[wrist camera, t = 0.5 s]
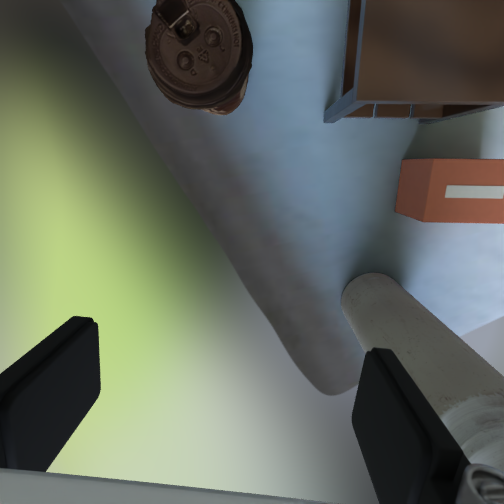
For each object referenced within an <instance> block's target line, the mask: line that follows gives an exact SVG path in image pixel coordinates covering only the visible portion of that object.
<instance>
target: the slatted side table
mask: <svg viewBox="0 0 504 504" xmlns="http://www.w3.org/2000/svg"><path fill="white" fill-rule="evenodd" d="M374 104H376V107H375V116H374V118H401V119H405V118H408V117H409V114H410V106H411V104H412V108H411V115H410V119H419V124H430V123H435V122H439V121H443V120H447V119H451V118H456V117H460V116H464V115H468V114H472V113H476V112H481V111H485V110H489V109H493V108H497V107H502V106H504V0H348V12H347V24H346V36H345V48H344V60H343V72H342V84H341V96H340V99H339V100H338V101H337V102H335V103H334V104H333V105H332V106H331V107H329V108H328V109H327V110H326V111H325V112H324V123H334V122H336V121H338V120H339V119H341V118H371V117H373V108H374Z"/></svg>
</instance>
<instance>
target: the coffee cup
mask: <svg viewBox="0 0 504 504" xmlns="http://www.w3.org/2000/svg"><path fill="white" fill-rule="evenodd" d="M152 12H153V13H152V19H151V24H150V25H149V26H148V27H147V28H146V29H145V38H146V42H145V43H146V51H145V54H146V59H147V64H148V68H149V71H150V73H151V76H152V78H153V80H154V81H155V83H156V85H157V87H158V88H159V89H160V91H161V92H162V93H163V94H164V96H165V97H166V98H167V99H168V100H170V101H171V102H172V103H175V104H178V105H180V106H182V107H185V108H189V109H202V110H204V111H206V112H209V113H212V114H216V115H227V114H229V113H231V112H233V111H234V110H235V109H236V108H237V107H238V106H239V105H240V103H241V102H242V100H243V98H244V95H245V91H246V87H247V83H248V76H249V72H250V69H251V67H252V63H251V62H252V56H253V43H252V38H251V34H250V31H249V28H248V25H247V23H246V20H245V17H244V14H243V11H242V9H241V7H240V6H239V5H238V4H237V3H236V1H235V0H157V1H156V5H155V6H154V7H153V9H152Z"/></svg>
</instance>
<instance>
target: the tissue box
mask: <svg viewBox="0 0 504 504" xmlns="http://www.w3.org/2000/svg"><path fill="white" fill-rule="evenodd" d="M395 212H397V213H400V214H402V215H405V216H408V217H411V218H413V219H416V220H419V221H422V222H444V223H498V224H504V159H441V158H431V159H403V160H402V165H401V172H400V179H399V186H398V193H397V200H396V207H395Z"/></svg>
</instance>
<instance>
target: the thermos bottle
mask: <svg viewBox="0 0 504 504" xmlns="http://www.w3.org/2000/svg"><path fill="white" fill-rule="evenodd" d="M341 306H342V310H343V313H344V315H345V317H346V319H347V321H348V323H349V324H350V326H351V328H352V330H353V331H354V333H355V335H356V337H357V339H358V341H359V343H360V344H361V346H362V348H363V350H364V352H365V354H366V352H367V351H371V350H372V348H373V347H377V348H386V349H391V350H392V351H393V352H394V353H395V355H396V356H397V358H398V359H399V361H400V362H401V363H402V365H403V366H404V368H405V369H406V371H407V372H408V373H409V375H410V376H411V378H412V379H413V381H414V382H415V383H416V385H417V386H418V388H419V389H420V390H421V392H422V393H423V395H424V396H425V398H426V399H427V400H428V402H429V403H430V405H431V406H432V408H433V409H434V410H435V412H436V413H437V415H438V416H439V417H440V419H441V420H442V422H443V423H444V425H445V426H446V427H447V429H448V430H449V432H450V433H451V435H452V436H453V437H454V439H455V440H456V442H457V443H458V444H459V446H460V447H461V449H462V450H463V453H464V454H465V456H466V457H467V459H468V460H469V461H470V463H471V464H473V463H479V464H485V465H489V466H492V467H494V468H496V469H498V470H501V471H503V472H504V377H503V376H502V375H501V374H500V373H499V372H498V371H497V370H496V369H495V368H493V367H492V366H491V365H490V364H489V363H488V362H487V361H485V360H484V359H483V358H482V357H481V356H480V355H479V354H477V353H476V352H475V351H474V350H473V349H472V348H471V347H469V346H468V345H467V344H466V343H465V342H464V341H463V340H462V339H461V338H459V337H458V336H457V335H456V334H455V333H454V332H453V331H451V330H450V329H449V328H448V327H447V326H446V325H445V324H443V323H442V322H441V321H440V320H439V319H438V318H437V317H436V316H434V315H433V314H432V313H431V312H430V311H429V310H428V309H426V308H425V307H424V306H423V305H422V304H421V303H420V302H418V301H417V300H416V299H415V298H414V297H413V296H412V295H411V294H409V293H408V292H407V291H406V290H405V289H404V288H403V287H401V286H400V285H399V284H398V283H397V282H396V281H395V280H393V279H392V278H391V277H389V276H387V275H385V274H381V273H367V274H363V275H360V276H358V277H357V278H355V279H353V280H352V281H351V282H350V283H349V284H348V285H347V287H346V288H345V290H344V292H343V294H342V298H341Z"/></svg>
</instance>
